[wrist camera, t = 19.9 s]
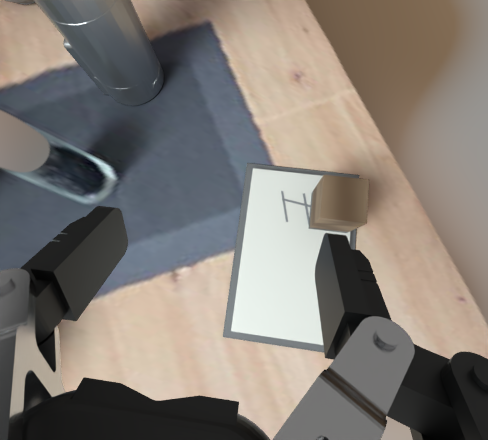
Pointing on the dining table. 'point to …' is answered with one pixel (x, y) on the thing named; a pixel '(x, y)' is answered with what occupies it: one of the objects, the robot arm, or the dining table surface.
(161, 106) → the dining table surface
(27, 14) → the dining table surface
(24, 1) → the coffee pot
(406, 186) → the dining table surface
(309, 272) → the board
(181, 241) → the dining table surface
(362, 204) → the block
